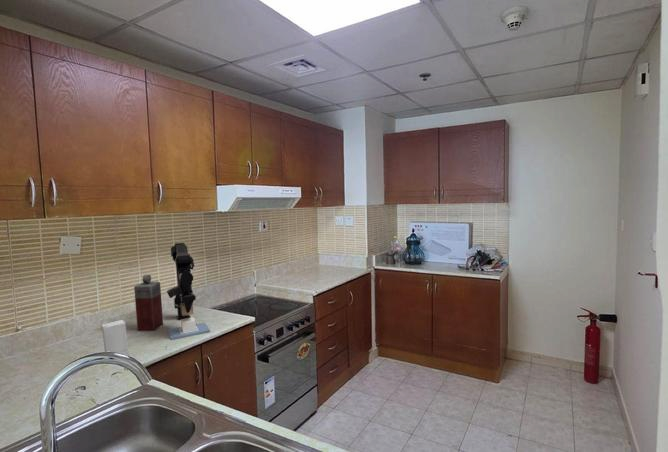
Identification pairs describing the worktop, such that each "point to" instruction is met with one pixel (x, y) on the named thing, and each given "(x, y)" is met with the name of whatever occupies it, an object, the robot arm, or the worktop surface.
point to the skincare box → (115, 337)
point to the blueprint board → (177, 332)
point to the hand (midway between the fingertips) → (187, 311)
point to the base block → (188, 325)
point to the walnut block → (183, 310)
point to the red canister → (148, 305)
